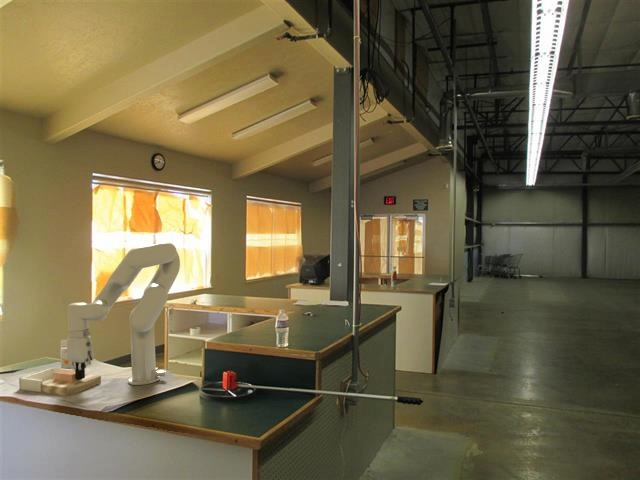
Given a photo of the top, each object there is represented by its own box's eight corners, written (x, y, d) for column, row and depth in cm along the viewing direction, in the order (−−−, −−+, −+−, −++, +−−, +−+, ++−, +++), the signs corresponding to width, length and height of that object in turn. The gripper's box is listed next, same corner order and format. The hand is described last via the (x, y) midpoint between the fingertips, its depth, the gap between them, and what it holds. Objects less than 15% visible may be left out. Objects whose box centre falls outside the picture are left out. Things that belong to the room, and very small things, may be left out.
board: (100, 383, 205) (100, 376, 205) (68, 395, 191) (68, 388, 190) (74, 380, 211) (73, 373, 211) (40, 392, 196) (40, 384, 196)
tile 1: (73, 378, 204) (72, 370, 204) (62, 381, 199) (62, 373, 199) (64, 377, 205) (64, 369, 205) (53, 380, 201) (53, 372, 201)
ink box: (62, 375, 219) (60, 342, 219) (60, 372, 223) (59, 340, 223) (83, 371, 224) (81, 339, 223) (81, 369, 228) (80, 337, 227)
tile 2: (82, 379, 202) (82, 371, 202) (72, 382, 197) (71, 374, 197) (73, 377, 204) (72, 370, 204) (62, 381, 199) (62, 373, 199)
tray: (74, 380, 211) (73, 369, 211) (40, 392, 196) (40, 380, 196) (53, 377, 215) (53, 367, 215) (19, 389, 200) (19, 378, 200)
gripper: (100, 332, 199) (101, 377, 199) (72, 330, 204) (74, 374, 205) (85, 336, 192) (86, 383, 192) (57, 334, 197) (58, 380, 198)
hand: (80, 378), depth 198 cm, fingers closed
